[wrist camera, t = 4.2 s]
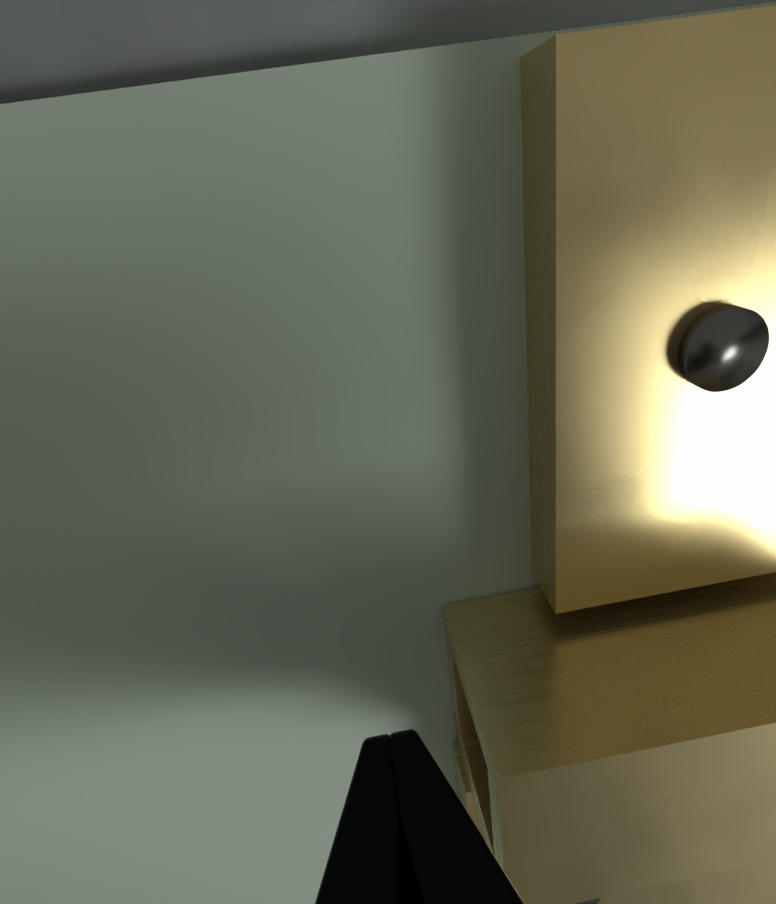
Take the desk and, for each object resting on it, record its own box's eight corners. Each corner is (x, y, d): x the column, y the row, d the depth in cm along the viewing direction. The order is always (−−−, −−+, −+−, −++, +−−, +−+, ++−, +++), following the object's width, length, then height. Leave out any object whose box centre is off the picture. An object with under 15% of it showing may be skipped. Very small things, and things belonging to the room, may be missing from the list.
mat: (1580, -100, 7) (1648, -115, 7) (1043, 791, 15) (1061, 806, 15) (-638, 196, 6) (-702, 197, 5) (51, 1008, 14) (44, 1031, 13)
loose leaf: (950, 510, 10) (1199, 635, 7) (824, 856, 14) (946, 1015, 11) (436, 606, 9) (489, 781, 6) (475, 933, 14) (515, 1118, 11)
